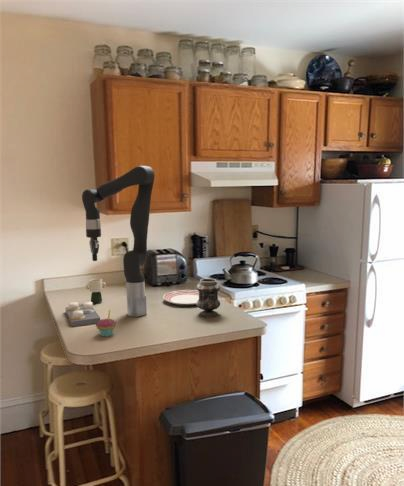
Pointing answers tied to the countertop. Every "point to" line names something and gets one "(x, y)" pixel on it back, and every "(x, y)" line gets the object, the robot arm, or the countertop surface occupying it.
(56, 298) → the countertop surface
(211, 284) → the apothecary jar
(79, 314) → the button front
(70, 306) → the button back
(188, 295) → the dinner plate
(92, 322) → the button board
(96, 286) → the character mug
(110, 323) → the cupcake
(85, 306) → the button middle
